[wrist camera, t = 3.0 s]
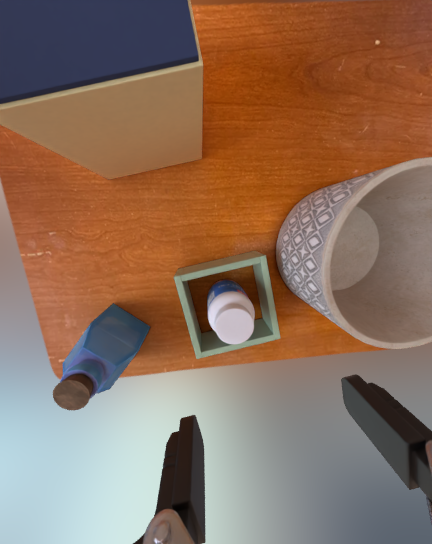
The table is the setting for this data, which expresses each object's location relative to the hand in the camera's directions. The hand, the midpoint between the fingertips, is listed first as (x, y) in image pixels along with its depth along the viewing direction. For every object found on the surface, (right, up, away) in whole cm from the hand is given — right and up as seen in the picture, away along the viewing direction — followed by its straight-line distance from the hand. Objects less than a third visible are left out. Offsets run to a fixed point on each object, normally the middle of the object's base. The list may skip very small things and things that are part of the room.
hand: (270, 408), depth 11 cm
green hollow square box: (-2, +4, +20) cm, 20 cm away
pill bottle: (-2, +4, +20) cm, 20 cm away
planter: (+13, +11, +19) cm, 26 cm away
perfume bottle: (-17, -1, +20) cm, 26 cm away
